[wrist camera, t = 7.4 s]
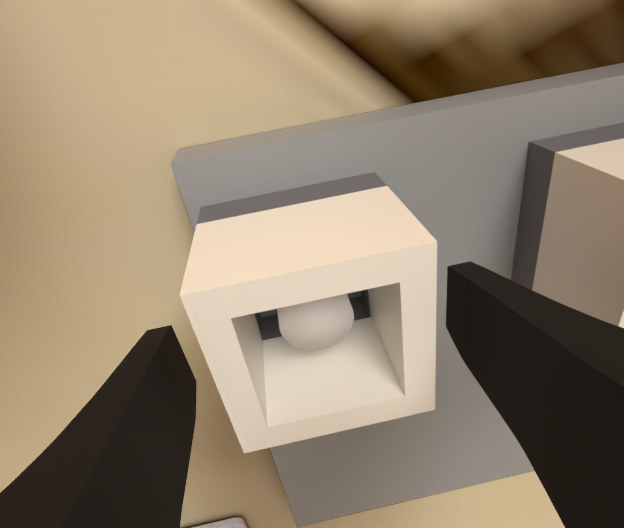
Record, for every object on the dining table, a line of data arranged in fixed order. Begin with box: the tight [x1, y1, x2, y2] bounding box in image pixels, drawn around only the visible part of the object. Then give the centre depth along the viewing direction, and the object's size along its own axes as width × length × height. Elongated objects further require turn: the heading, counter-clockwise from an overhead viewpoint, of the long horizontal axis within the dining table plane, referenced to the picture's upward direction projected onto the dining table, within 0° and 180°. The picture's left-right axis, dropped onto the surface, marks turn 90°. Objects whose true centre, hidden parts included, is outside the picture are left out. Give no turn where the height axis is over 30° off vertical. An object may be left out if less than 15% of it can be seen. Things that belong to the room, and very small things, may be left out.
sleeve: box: [180, 172, 437, 453], centre depth 11 cm, size 5×5×4 cm
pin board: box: [171, 63, 624, 527], centre depth 16 cm, size 20×16×4 cm
